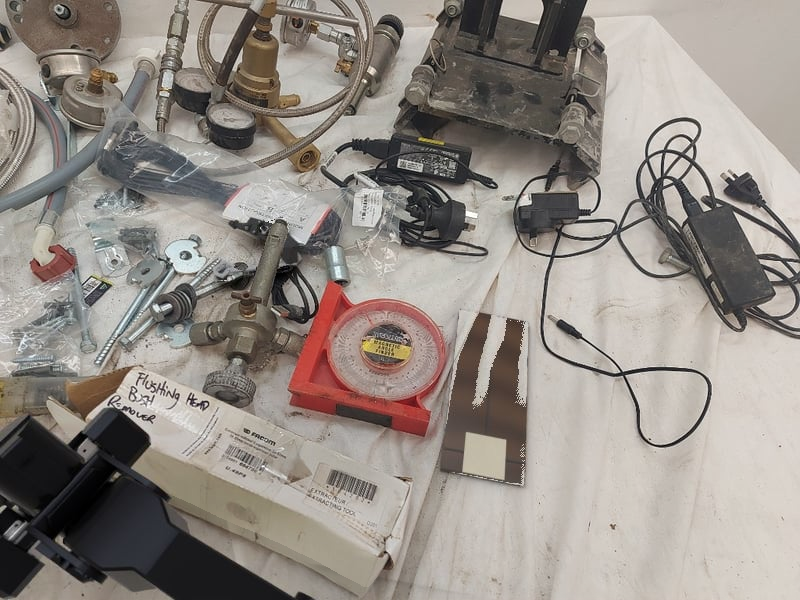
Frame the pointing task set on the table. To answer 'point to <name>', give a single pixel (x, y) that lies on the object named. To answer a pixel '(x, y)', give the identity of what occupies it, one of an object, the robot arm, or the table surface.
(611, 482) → the table surface
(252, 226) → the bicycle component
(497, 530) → the table surface
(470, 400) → the board
